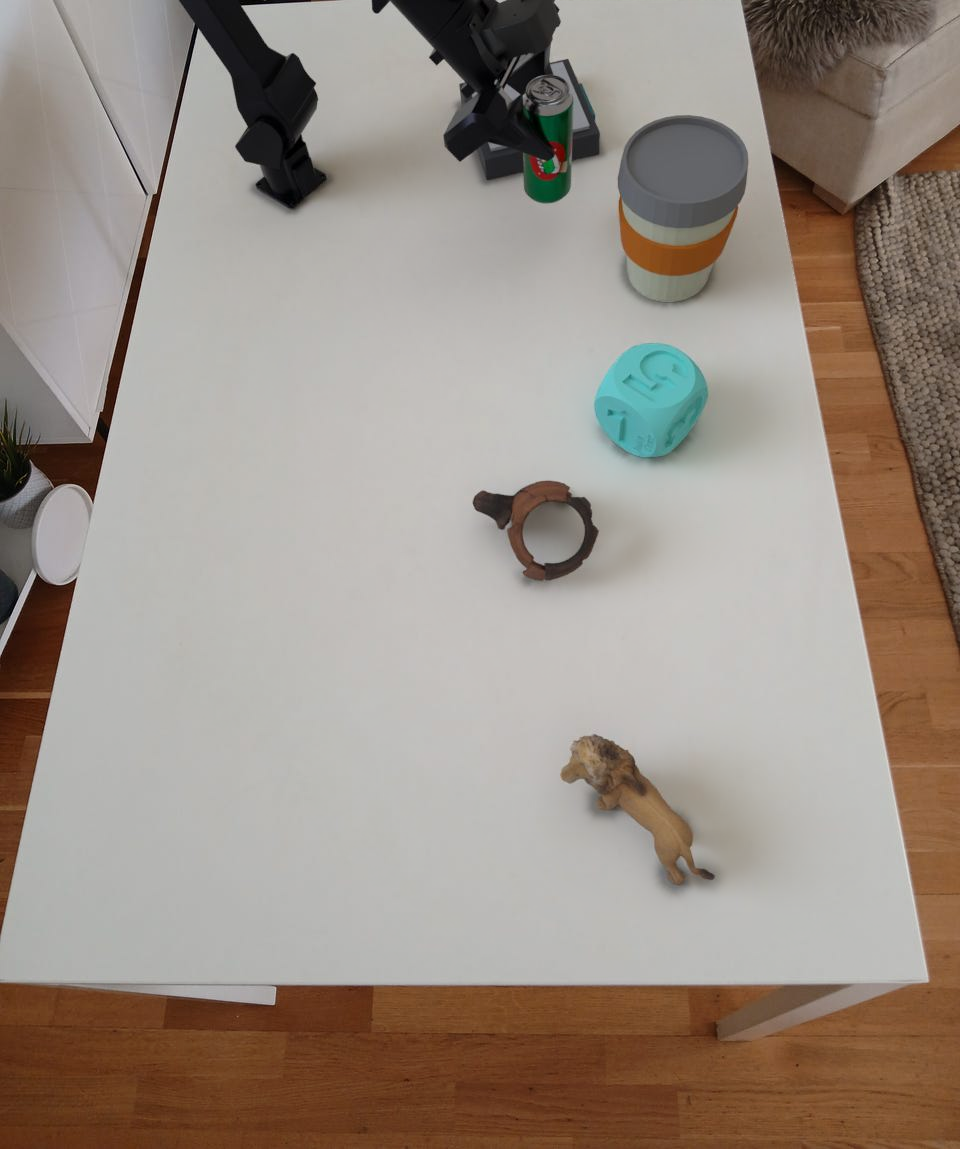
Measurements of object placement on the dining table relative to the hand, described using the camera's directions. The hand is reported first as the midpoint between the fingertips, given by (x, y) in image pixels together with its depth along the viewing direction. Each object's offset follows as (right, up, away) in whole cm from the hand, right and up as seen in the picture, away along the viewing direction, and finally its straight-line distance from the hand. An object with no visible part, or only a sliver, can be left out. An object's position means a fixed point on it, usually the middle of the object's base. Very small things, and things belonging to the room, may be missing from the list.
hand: (559, 140), depth 92 cm
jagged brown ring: (-3, -40, -3) cm, 40 cm away
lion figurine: (+5, -64, -15) cm, 67 cm away
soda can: (-1, -2, +6) cm, 7 cm away
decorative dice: (+9, -29, +1) cm, 30 cm away
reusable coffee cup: (+13, -10, +9) cm, 19 cm away
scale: (-2, +11, +21) cm, 23 cm away
